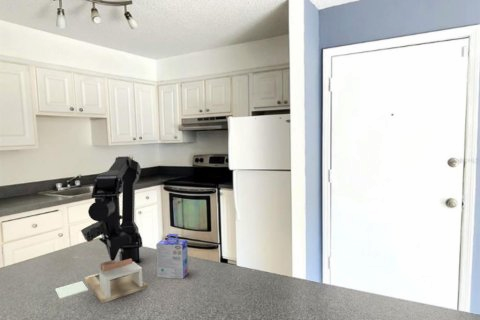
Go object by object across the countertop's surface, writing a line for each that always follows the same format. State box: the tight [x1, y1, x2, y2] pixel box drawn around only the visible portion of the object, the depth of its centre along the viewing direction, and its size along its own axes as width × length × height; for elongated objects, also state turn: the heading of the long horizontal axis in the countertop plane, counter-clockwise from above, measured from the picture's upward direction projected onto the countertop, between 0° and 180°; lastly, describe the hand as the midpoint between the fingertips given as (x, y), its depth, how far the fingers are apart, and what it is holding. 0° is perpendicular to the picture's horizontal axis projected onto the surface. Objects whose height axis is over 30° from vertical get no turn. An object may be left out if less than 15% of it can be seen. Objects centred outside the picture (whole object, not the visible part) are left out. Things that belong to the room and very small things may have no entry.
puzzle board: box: [83, 272, 148, 304], centre depth 103 cm, size 14×20×1 cm
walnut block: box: [99, 260, 119, 281], centre depth 107 cm, size 4×4×6 cm
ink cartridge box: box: [155, 233, 189, 279], centre depth 109 cm, size 10×6×14 cm, turn 81°
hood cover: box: [98, 258, 144, 298], centre depth 98 cm, size 11×7×7 cm, turn 130°
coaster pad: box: [54, 280, 89, 300], centre depth 99 cm, size 8×8×1 cm
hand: (112, 260), depth 100 cm, fingers closed
